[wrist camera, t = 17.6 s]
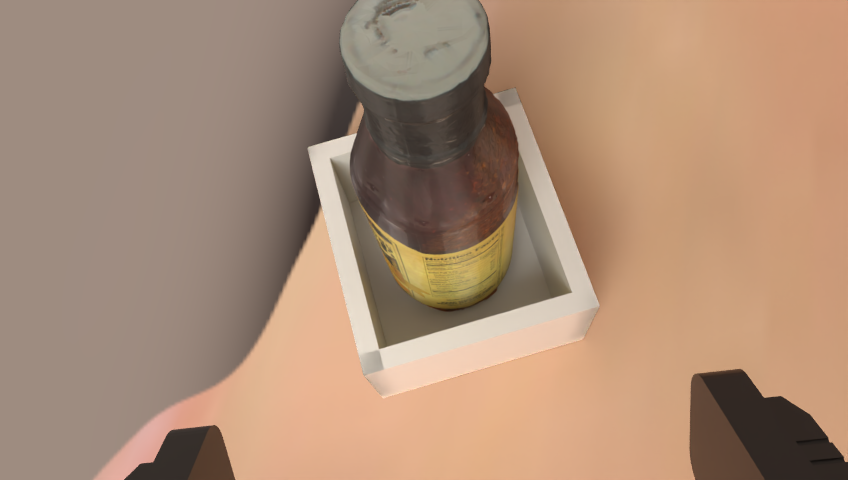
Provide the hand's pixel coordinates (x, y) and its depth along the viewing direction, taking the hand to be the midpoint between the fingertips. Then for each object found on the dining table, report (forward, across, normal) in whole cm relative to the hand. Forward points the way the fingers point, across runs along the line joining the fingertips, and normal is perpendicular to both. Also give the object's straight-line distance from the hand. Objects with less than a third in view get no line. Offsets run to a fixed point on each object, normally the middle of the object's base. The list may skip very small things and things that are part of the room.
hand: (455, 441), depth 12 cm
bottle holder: (+25, 0, +8) cm, 26 cm away
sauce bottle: (+24, 0, +8) cm, 26 cm away
